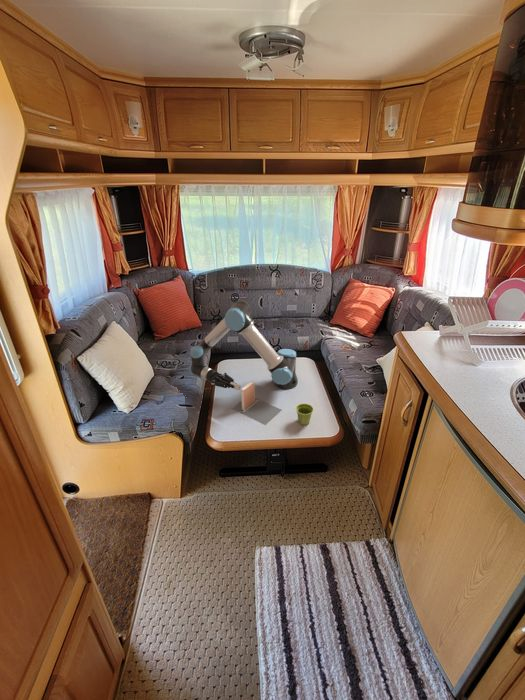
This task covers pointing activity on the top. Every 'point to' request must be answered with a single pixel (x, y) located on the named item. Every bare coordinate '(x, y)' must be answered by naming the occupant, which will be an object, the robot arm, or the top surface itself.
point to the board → (259, 411)
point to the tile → (248, 395)
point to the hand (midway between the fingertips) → (239, 388)
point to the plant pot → (304, 413)
